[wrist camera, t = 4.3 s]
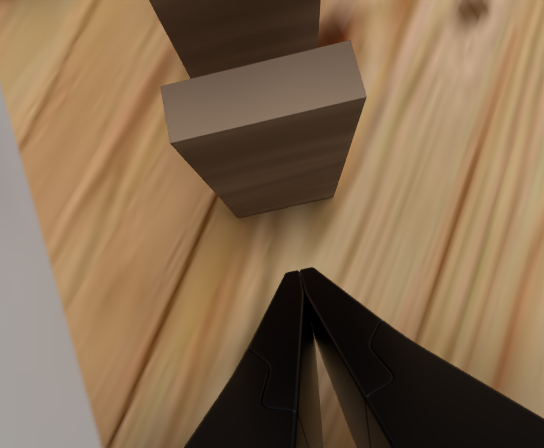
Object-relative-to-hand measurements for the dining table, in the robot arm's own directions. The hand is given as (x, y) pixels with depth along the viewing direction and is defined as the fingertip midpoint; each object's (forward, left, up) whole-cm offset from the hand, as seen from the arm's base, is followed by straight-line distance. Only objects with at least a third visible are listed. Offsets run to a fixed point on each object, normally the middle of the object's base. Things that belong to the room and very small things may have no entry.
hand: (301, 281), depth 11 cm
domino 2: (+2, +4, -8) cm, 9 cm away
